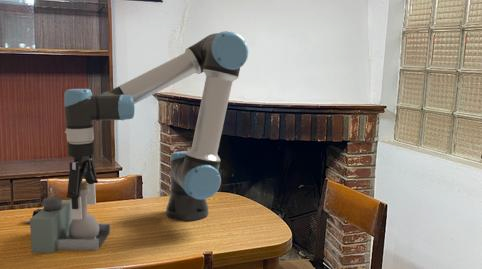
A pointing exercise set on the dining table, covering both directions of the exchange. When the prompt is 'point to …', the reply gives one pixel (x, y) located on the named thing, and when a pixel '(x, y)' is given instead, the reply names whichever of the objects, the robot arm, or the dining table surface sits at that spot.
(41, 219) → the housing
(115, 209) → the dining table surface
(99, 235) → the side bay
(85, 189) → the potion bottle
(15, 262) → the dining table surface
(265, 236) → the dining table surface
